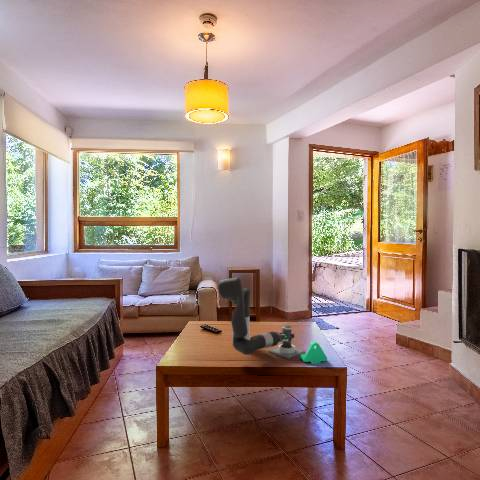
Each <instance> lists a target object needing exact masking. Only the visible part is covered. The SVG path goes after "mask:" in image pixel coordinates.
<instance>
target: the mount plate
mask: <svg viewBox="0 0 480 480" xmlns="http://www.w3.org/2000/svg"><path fill="white" fill-rule="evenodd" d="M268 353H269V354H272V355H275V356H279V357H283V358H285V359H292V358H294V357H297V356H299V355H300V354H306V351H305V350H302V349H299V348H296V345H295V344H291V348H283V347H282V343H281V344H278V347H274V348H272V349H270V350H268Z"/></svg>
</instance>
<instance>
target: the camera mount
mask: <svg viewBox="0 0 480 480" xmlns="http://www.w3.org/2000/svg"><path fill="white" fill-rule="evenodd" d="M299 358H300V359H301V360H302V361H303V363H308V362H311V364H320V363H321V362H328V357H327V355H326V353H325V351H324V350H323V349H322V347H321V345H320V344H319V343H318V342H317V341H314V340H313V341H311V342H310V343H309V347H308V350H307V351H306V352H305V353H303V354H300V357H299Z"/></svg>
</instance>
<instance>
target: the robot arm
mask: <svg viewBox="0 0 480 480" xmlns="http://www.w3.org/2000/svg"><path fill="white" fill-rule="evenodd" d="M217 286H218V287H217V291H218V294H219V296H220V297H221V298H222V299H224V300H226V299H227V300H229V301H230V302H232V304H234V305H236V307H235V309H234V311H233V313H232V315H231V322H230V323H231V327H232V331H231V332H232V333H231V334H232V336H231V337H232V340H231V341H232V344H231V345H232V346H233V348H234V349H235V350H236V351H237V352H239V353H241V354H243V355H246V356H247V355H252V354H253V353H255V352H256V351H258V350H262V349H267V348H272V347H276V346H277V345H279V343H282V341H285V343H287V342H290V341H291V342H292V341H293V340H292V339H295V333H291V334H290V335H285V334H282V331H281V332H279V331H268V332H263V333H261V334H260V333H259V334H256V335H252V336H251V337H250V335H251V334H250V333H251V331H250V330H251V329H250V324H251V323H250V317H251V316H250V315H251V313H250V310H251V309H250V305H251V290H250V289H249V288H245V287H244V288H243V283H242V280H241V278H240V277H231V278H224V279H221V280H220V281H219V282H218V285H217ZM287 336H288V337H287Z"/></svg>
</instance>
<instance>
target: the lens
mask: <svg viewBox="0 0 480 480" xmlns="http://www.w3.org/2000/svg"><path fill="white" fill-rule="evenodd" d="M281 327H282V329H281V333H282V334H285V335H290V334H292V331H293V330H292V326H291V325H288V324H287V325H286V324H285V325H282V326H281ZM287 337H288V336H287ZM281 344H282V347H283V348H291V345H292V341H290V342H287V343H285V341H282V342H281Z"/></svg>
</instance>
